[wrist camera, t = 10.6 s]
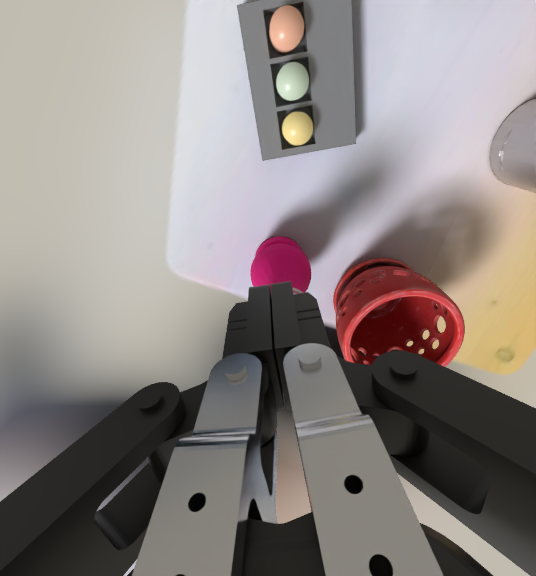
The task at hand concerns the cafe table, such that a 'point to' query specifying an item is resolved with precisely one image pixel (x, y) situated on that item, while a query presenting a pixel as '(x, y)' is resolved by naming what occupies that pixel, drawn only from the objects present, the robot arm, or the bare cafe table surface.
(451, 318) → the plant pot
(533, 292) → the cafe table surface
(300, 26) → the terracotta button
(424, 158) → the cafe table surface
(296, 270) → the pepper mill
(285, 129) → the ochre button
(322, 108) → the panel
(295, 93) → the sage button
